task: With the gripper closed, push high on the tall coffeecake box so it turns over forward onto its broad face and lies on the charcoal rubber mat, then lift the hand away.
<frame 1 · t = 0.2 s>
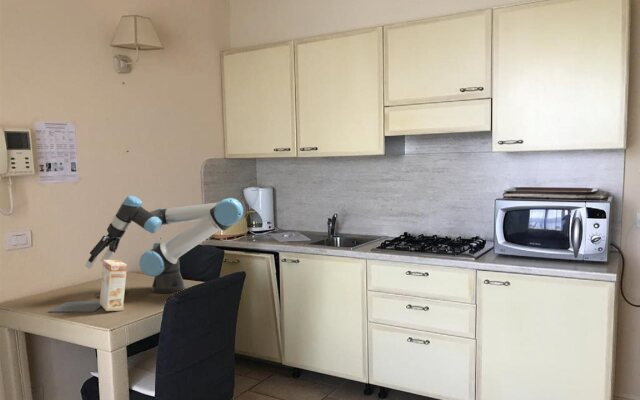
hand: (95, 264, 239), 16 cm above the table, fingers open, 13 cm apart
coffeecake box: (110, 307, 222), on the table, touching mat
mat: (80, 307, 225), on the table
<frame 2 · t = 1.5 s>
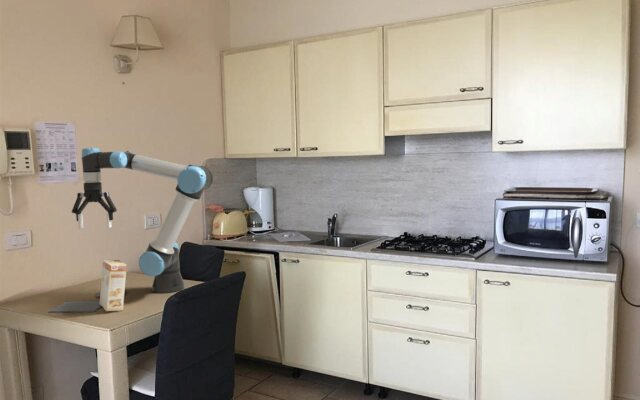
hand: (95, 227, 238), 33 cm above the table, fingers open, 13 cm apart
nothing on the table moved.
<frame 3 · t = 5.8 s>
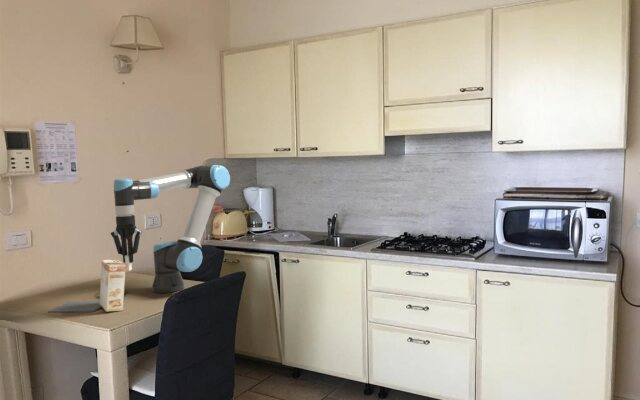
hand: (128, 270, 220), 16 cm above the table, fingers closed
nothing on the table moved.
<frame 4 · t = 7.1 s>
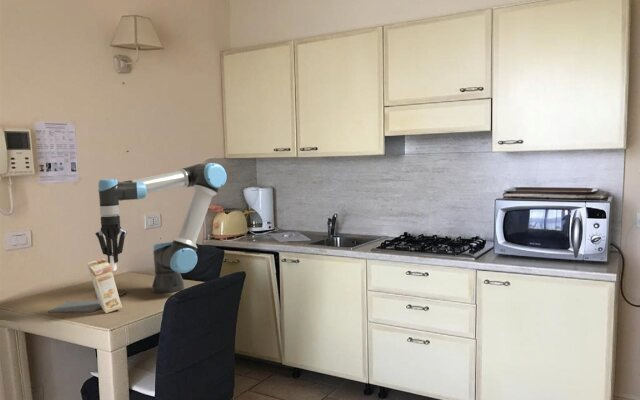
hand: (113, 270, 220), 16 cm above the table, fingers closed
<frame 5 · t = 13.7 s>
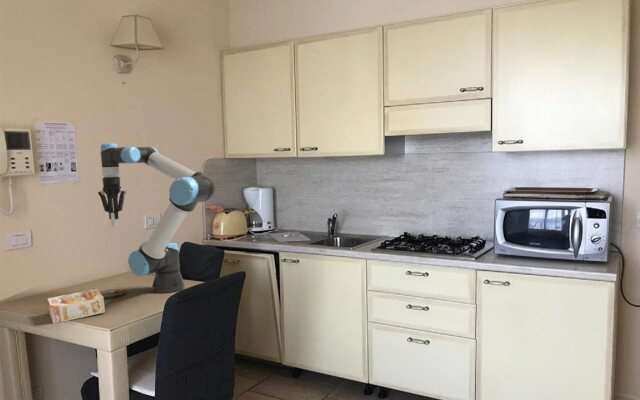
hand: (114, 226, 245), 32 cm above the table, fingers closed
coffeecake box: (101, 299, 219), point 4 cm above the table, touching mat
at the end: coffeecake box tilted 93°; coffeecake box touching mat, table; coffeecake box inside the target area (3.5 cm from its centre), point 4.4 cm above the table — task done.
